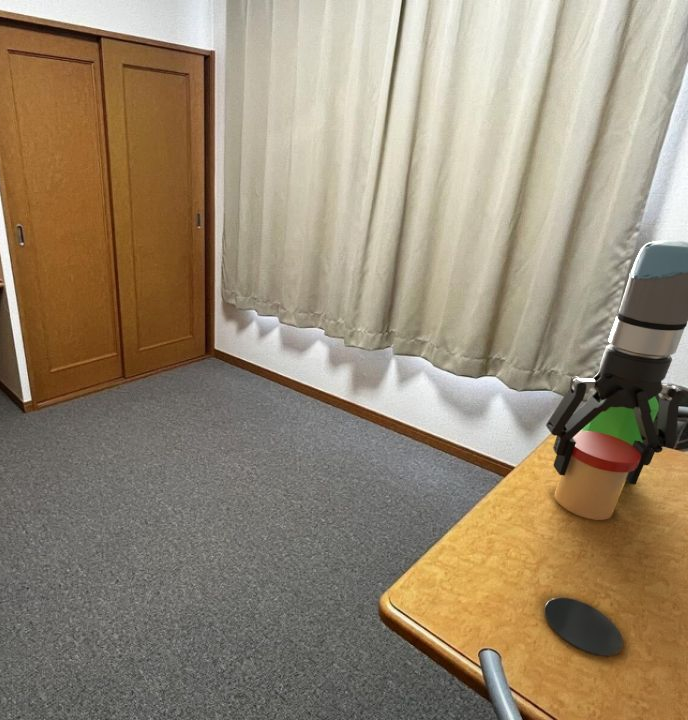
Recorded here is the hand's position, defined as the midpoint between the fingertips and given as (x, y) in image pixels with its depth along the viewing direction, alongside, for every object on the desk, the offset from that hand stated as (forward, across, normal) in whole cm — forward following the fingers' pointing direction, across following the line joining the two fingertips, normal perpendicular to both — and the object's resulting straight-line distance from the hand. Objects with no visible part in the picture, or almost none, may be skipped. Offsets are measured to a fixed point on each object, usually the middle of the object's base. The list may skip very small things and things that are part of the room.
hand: (593, 474), depth 79 cm
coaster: (+7, +10, +26) cm, 29 cm away
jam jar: (+7, 0, 0) cm, 7 cm away
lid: (-5, 0, 0) cm, 5 cm away
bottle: (+7, -7, -12) cm, 15 cm away
